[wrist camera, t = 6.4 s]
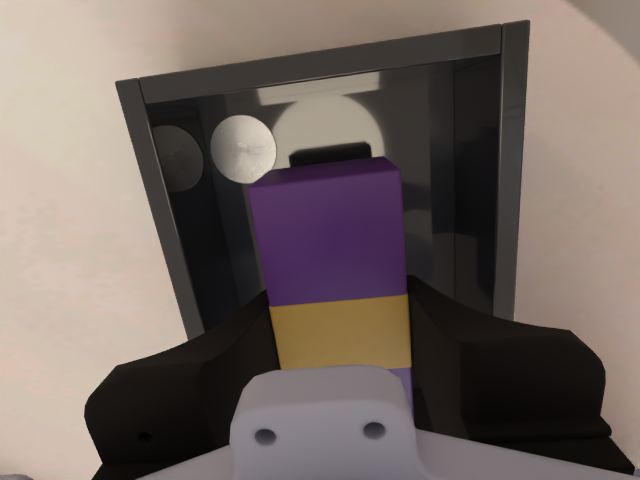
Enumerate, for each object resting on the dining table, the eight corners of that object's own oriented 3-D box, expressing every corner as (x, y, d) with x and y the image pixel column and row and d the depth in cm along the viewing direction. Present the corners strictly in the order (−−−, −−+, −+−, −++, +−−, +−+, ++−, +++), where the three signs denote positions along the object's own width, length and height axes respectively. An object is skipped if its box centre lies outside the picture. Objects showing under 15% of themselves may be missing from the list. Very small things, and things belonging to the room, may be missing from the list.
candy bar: (385, 155, 13) (402, 168, 10) (400, 384, 16) (417, 454, 13) (268, 169, 14) (244, 187, 10) (305, 390, 17) (297, 460, 13)
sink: (467, 51, 15) (531, 18, 10) (464, 386, 21) (505, 472, 16) (182, 92, 16) (113, 80, 11) (253, 400, 22) (228, 485, 17)
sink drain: (270, 110, 15) (270, 110, 15) (281, 179, 16) (281, 179, 16) (204, 119, 16) (203, 119, 16) (218, 186, 17) (218, 186, 17)
